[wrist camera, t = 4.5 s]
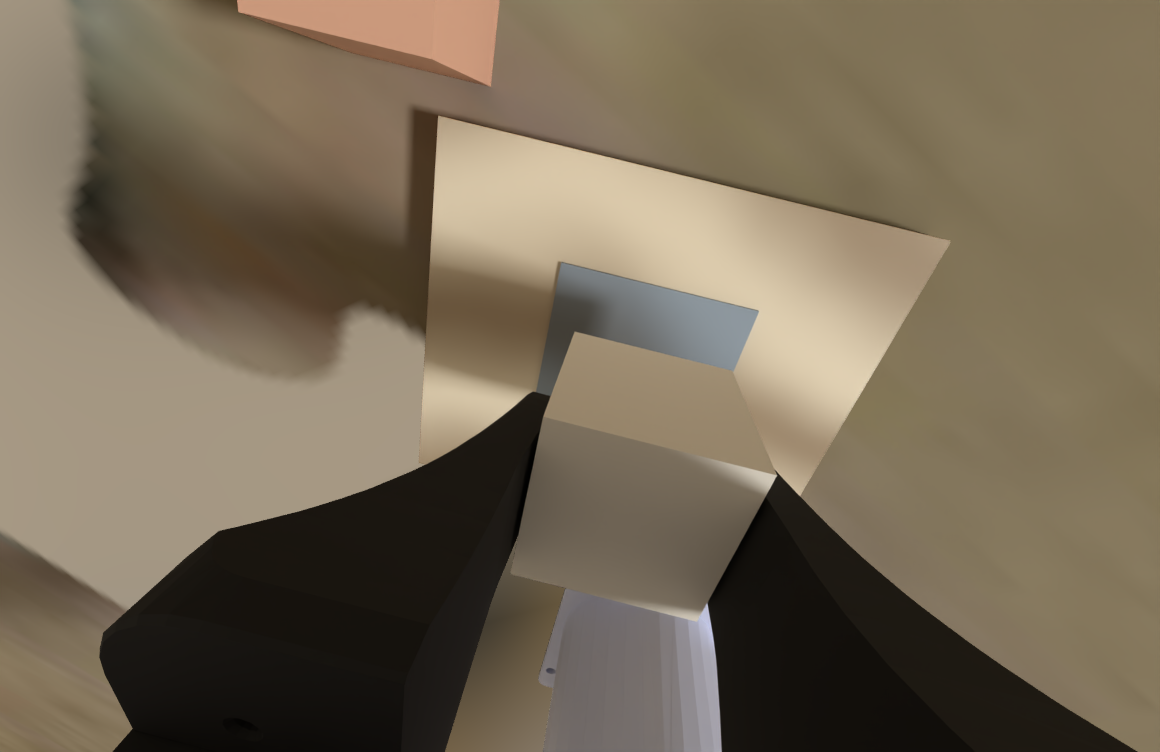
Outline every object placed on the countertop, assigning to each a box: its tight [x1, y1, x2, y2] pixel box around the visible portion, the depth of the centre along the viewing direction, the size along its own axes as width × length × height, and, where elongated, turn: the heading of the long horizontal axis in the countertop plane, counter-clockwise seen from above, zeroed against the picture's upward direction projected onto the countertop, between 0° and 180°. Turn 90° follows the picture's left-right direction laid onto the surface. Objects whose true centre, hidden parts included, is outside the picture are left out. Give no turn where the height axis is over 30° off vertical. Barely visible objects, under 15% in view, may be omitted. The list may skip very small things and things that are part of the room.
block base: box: [510, 332, 777, 622], centre depth 10 cm, size 4×4×4 cm
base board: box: [419, 116, 951, 496], centre depth 15 cm, size 12×14×1 cm
